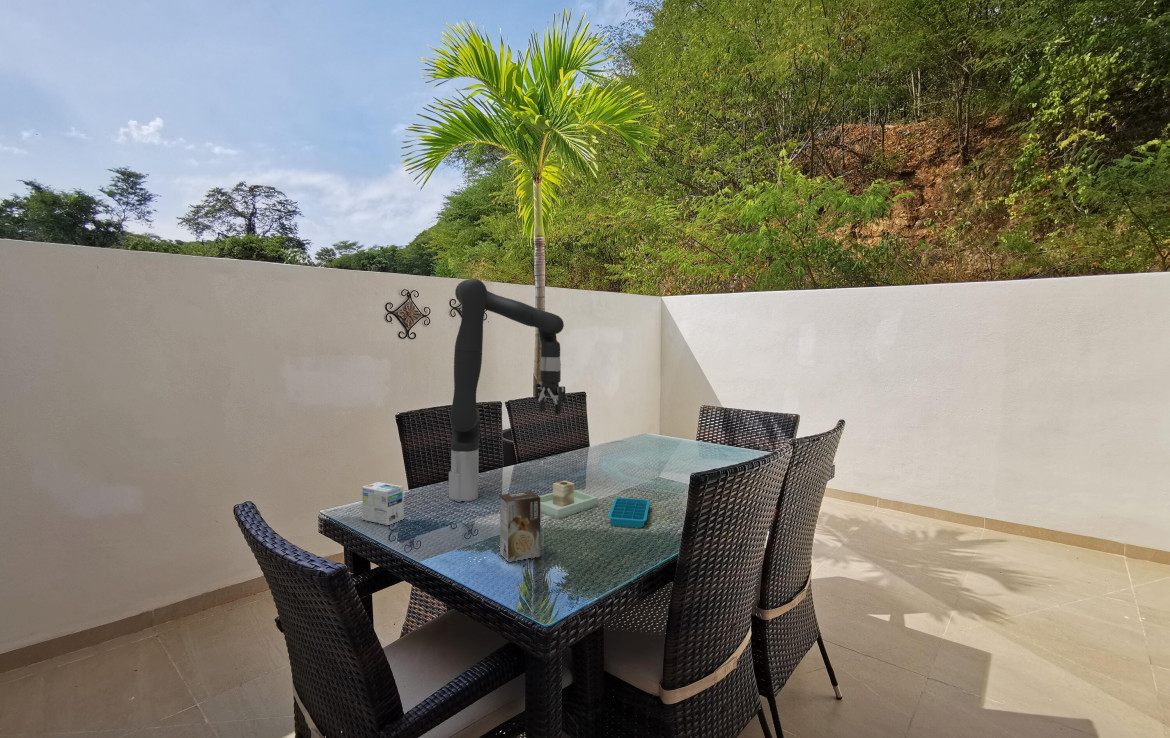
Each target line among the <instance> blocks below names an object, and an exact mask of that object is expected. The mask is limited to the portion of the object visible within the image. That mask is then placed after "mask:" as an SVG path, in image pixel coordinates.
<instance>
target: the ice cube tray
mask: <svg viewBox="0 0 1170 738" xmlns="http://www.w3.org/2000/svg"><path fill="white" fill-rule="evenodd" d="M650 503H651V501H650V500H649V499H643V498H632V497H631V498H630V497H615V498H614V499H613V502H612V505H611V508H610V510H609V513H608V515H607V518H608V519H609V520H610V525H611V526H612V527H621V526H622V527H621V528H633V527H637V528H636V529H642V528H641V527H643V526H644V527H645V522H647V519H648V514H649V513H648V512H649V508H650ZM644 527H643V528H644Z"/></svg>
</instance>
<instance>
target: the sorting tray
mask: <svg viewBox="0 0 1170 738" xmlns="http://www.w3.org/2000/svg"><path fill="white" fill-rule="evenodd" d="M538 496H539V497H540V514H544V515H546V516H548V517H551V518H554V519H556V520H560V519H563V518H566V517H569V516H572V515H575V514H577V512H578V513H581V512H584V511H587V510H590V508H591V509H593V507H594V508H596V506H597V507H598V499H599V497H597V496H594V495H590V494H587V493H586V492H582V491H580V490H577V489H574V504H570V505H567V506H564V507H560V506H557V505H554V504H553V492H550V493H546V494H543V495H538ZM580 511H581V512H580Z"/></svg>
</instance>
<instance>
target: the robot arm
mask: <svg viewBox="0 0 1170 738" xmlns="http://www.w3.org/2000/svg"><path fill="white" fill-rule="evenodd" d="M454 291H455V292H454V294H455V298H456V300H457V301H458V302H459V303H460V304H461V320H460V321H461V322H460V326H459V329H458V333H457V336H456V338H455V344H454V357H453V383H454V384H453V387H454V388H453V389H454V390H453V396H452V397H453V399H452V405H451V410H450V415H449V416H450V417H449V420H450V423H451V425H452V427H451V428H452V435H451V442H450V446H451V447H450V456H451V458H450V466H451V468H450V470H449V471H448V498H449V500H451V501H454V500H455V501H454V502H456V501H457V502H456V503H461V501H465V502H470V501H475V500H477V499H478V498H479V451H480V450H479V447H480V444H479V443H480V411H479V408H478V407H477V390H478V389H477V388H478V384H479V380H480V375H481V370H482V362H483V344H484V342H483V341H484V340H483V339H484V338H483V337H484V319H485V318H484V316H485V312H486V311H489V312H492V313H495V314H497V315H499V316H501V317H504V318H507V319H510V320H512V321H515V322H517V323H520V324H521V325H524V326H527V327H533V328H537V329H538V334H539V339H540V340H539V341H540V344H541V346H540V347H541V348H540V365H539V367H540V368H539V370H540V371H539V372H540V374H539V379H540V380H539V382H540V383H535V395H534V396H535V397H534V399H536V400H537V401H538V403H539V404H538V409H539V412H541V413H542V412H545V411H546V401H547V400H546V399H547V398H548V397H549V398H551V399H552V400H553V401H554V402H553V403H554V415H557V416H558V415H561V413H562V404H564V403H566V401H567V400H566V387H565V386H562V385H561V386H560V382H561V378H562V377H561V373H562V372H561V371H562V370H561V368H562V367H561V365H562V363H561V343H560V342H559V341H558V339H557V334H560V333H561V332H562V331H563V330H564V327H565V323H564V320H563V319H562V318H561V316H559V315H557V314H554V313H552V312H549V311H545V310H541V309H540V308H539V309H538V308H536V307H534V306H531V305H529V304H527V303H525V302H521V301H518V300H515V299H511V298H509V297H505V296H501V295H499V294H496V293H494V292H490V291H489V290H488V289H487V286H486V285H485V283H484V282H483V281H481V280H480V279H477V278H468V279H465V280H463V281H460V282H459V283H458V285H456V287H455V290H454Z"/></svg>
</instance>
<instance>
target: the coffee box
mask: <svg viewBox="0 0 1170 738" xmlns="http://www.w3.org/2000/svg"><path fill="white" fill-rule="evenodd" d="M539 496H540V495H539V494H537V493H535V492H533V491H532V490H527V491H521V492H520V491H519V492H513V493H512V492H511V493H505V494H500V495H499V517H500V518H499V527H500V528H499V534H500V536H499V538H500V539H499V542H500V543H499V545H500V547H499V548H500V549H499V552H500V553H501V554H500V555H502V556H503V557H504V558H505V559H506V560H507V561H508V562H510V561H516V562H518V561H517V560H521V561H524V560H523V559H526V560H529V559H528V558H531V559H536V558H541V554H542V553H541V552H542V551H541V512H540V497H539ZM502 556H501V557H502ZM503 557H502V558H503ZM535 557H536V558H535ZM504 558H503V559H504ZM505 559H504V560H505ZM506 560H505V561H506ZM507 561H506V562H507Z"/></svg>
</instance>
